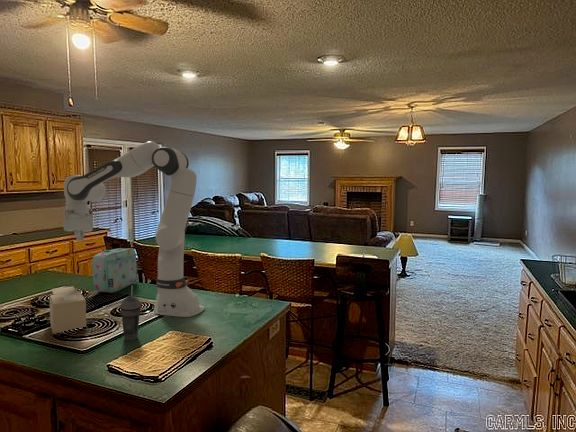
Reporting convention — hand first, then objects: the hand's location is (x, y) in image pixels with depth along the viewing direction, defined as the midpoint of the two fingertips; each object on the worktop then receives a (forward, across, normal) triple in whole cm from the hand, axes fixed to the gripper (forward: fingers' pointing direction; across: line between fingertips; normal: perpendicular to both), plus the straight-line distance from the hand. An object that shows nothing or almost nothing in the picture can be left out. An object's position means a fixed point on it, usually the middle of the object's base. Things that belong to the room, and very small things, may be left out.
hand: (80, 241), depth 181 cm
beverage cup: (+40, -33, -30) cm, 60 cm away
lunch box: (+25, +30, -2) cm, 39 cm away
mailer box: (+34, -24, -3) cm, 42 cm away
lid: (+22, -22, -3) cm, 31 cm away
